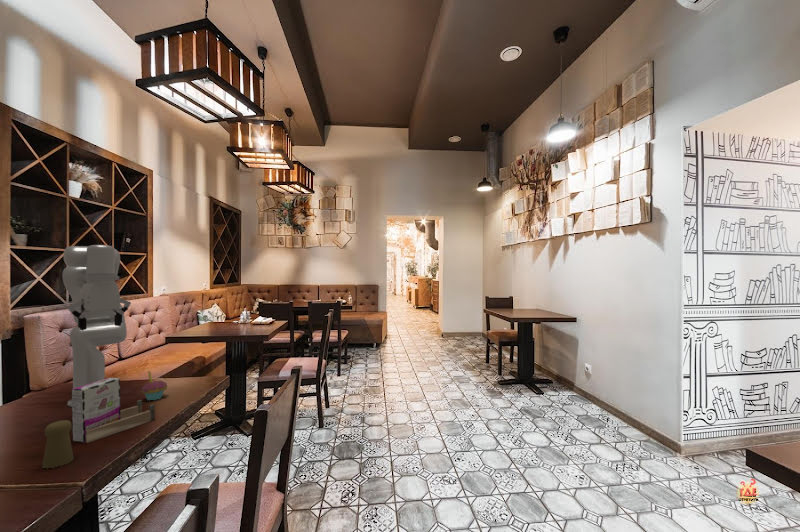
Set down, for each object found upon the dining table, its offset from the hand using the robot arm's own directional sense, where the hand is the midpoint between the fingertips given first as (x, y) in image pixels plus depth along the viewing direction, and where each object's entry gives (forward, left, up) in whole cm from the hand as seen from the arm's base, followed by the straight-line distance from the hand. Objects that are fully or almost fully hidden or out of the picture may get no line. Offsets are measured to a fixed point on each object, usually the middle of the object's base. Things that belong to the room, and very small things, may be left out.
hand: (101, 327), depth 116 cm
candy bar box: (+11, -4, -33) cm, 35 cm away
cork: (+23, -16, -33) cm, 44 cm away
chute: (+11, +1, -33) cm, 35 cm away
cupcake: (-7, +20, -33) cm, 39 cm away
